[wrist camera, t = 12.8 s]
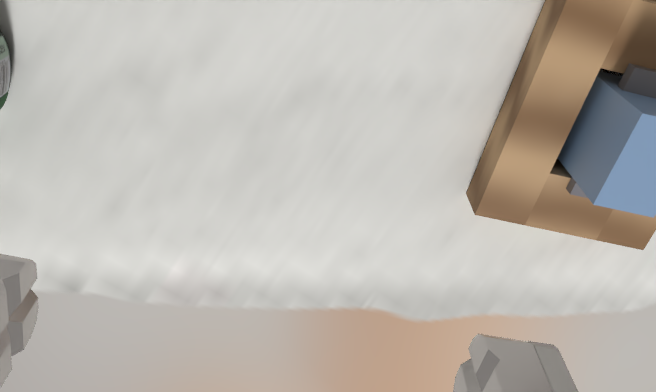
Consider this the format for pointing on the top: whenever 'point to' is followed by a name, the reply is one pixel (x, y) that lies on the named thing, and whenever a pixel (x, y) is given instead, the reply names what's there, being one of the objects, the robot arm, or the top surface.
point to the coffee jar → (4, 70)
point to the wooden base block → (561, 119)
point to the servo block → (615, 143)
